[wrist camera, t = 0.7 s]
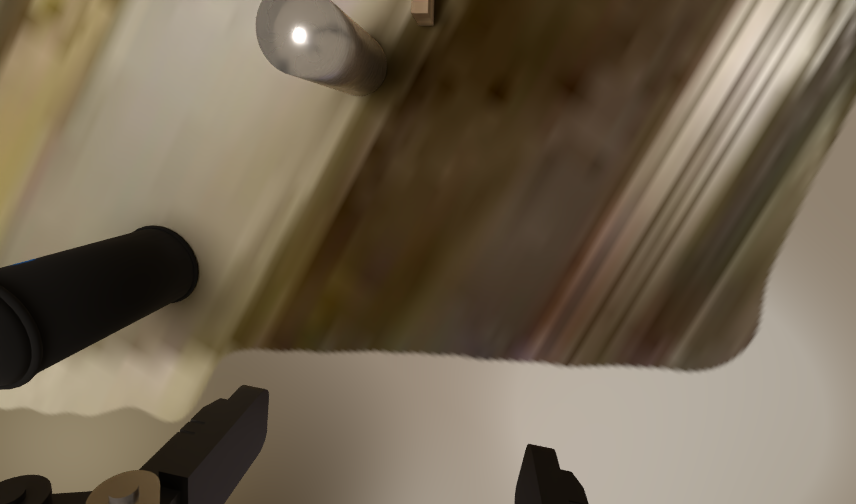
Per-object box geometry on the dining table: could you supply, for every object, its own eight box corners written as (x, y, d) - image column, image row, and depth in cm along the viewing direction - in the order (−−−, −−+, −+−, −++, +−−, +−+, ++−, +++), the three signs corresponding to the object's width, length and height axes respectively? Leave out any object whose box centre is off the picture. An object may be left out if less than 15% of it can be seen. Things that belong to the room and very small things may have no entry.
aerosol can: (206, 244, 41) (-37, 337, 22) (190, 314, 43) (-42, 453, 24) (131, 212, 41) (-177, 277, 22) (119, 283, 44) (-167, 397, 24)
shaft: (387, 34, 34) (336, -20, 22) (386, 96, 35) (338, 76, 23) (330, 33, 34) (252, -19, 23) (332, 95, 36) (259, 75, 24)
